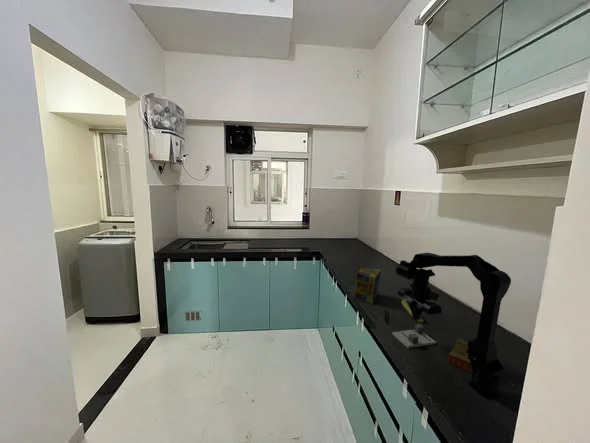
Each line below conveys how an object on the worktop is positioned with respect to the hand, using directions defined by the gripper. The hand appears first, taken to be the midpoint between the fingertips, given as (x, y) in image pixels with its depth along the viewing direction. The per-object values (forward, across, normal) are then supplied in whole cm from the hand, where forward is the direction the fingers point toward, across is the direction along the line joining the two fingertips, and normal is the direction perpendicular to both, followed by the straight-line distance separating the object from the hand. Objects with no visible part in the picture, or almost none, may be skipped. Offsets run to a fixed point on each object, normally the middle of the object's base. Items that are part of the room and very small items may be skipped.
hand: (415, 319), depth 110 cm
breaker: (+9, +6, -8) cm, 14 cm away
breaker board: (+11, +3, -3) cm, 12 cm away
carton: (+12, -12, -14) cm, 22 cm away
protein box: (+11, +45, -6) cm, 47 cm away
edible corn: (+11, +23, -18) cm, 31 cm away
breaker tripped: (+9, 0, 0) cm, 9 cm away
